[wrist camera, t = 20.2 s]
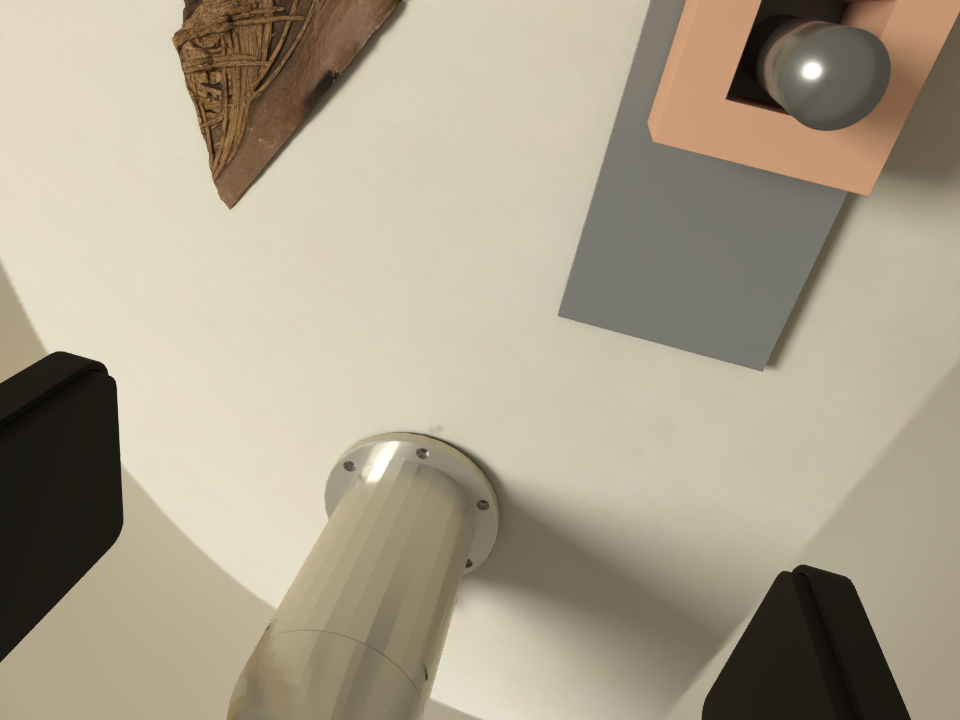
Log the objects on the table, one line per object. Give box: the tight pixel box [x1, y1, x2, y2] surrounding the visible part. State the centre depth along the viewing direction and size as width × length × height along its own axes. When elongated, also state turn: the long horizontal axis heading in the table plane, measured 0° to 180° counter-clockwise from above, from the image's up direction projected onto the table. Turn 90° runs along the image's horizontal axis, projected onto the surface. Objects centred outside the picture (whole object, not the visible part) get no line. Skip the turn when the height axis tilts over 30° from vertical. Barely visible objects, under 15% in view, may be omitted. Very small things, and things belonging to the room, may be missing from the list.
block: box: [647, 0, 960, 196], centre depth 28 cm, size 9×9×6 cm
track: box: [558, 0, 849, 372], centre depth 33 cm, size 25×12×1 cm, turn 168°
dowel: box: [742, 14, 891, 131], centre depth 26 cm, size 3×3×12 cm
